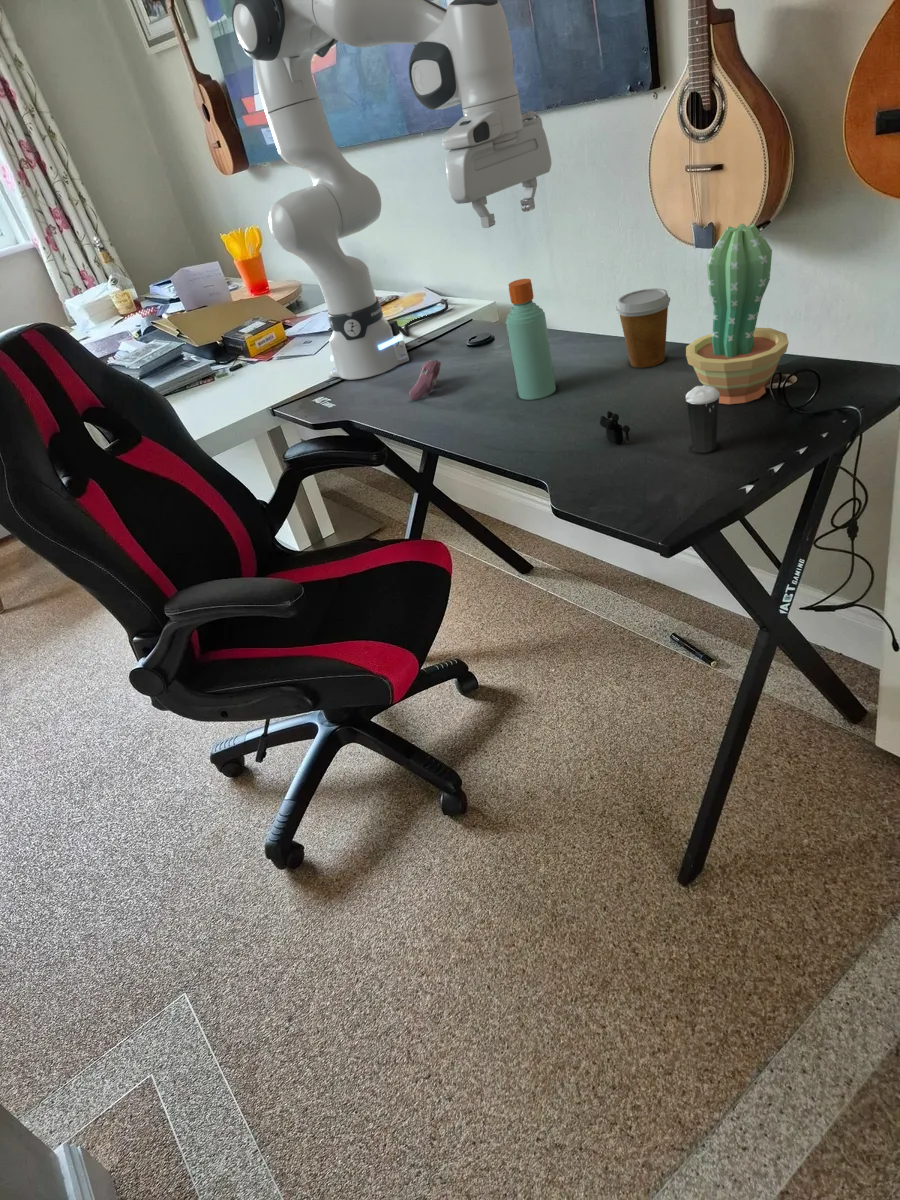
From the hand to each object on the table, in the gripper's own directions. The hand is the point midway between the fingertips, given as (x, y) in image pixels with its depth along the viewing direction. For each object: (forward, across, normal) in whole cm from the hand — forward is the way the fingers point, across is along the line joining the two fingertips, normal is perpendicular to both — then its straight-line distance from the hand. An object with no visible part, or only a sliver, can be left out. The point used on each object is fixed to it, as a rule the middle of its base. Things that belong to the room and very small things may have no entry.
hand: (509, 218), depth 129 cm
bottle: (+30, 0, 0) cm, 30 cm away
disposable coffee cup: (+30, -18, +11) cm, 37 cm away
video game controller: (+30, +7, -24) cm, 39 cm away
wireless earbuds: (+30, +12, +27) cm, 43 cm away
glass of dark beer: (+31, +8, +41) cm, 52 cm away
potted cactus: (+31, -11, +34) cm, 47 cm away
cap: (+13, 0, 0) cm, 13 cm away
